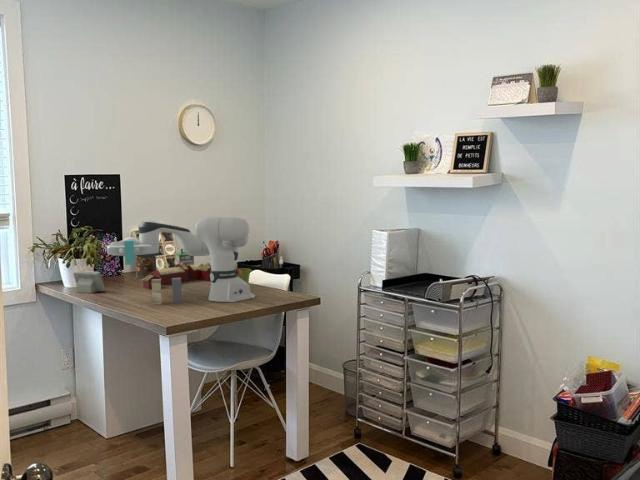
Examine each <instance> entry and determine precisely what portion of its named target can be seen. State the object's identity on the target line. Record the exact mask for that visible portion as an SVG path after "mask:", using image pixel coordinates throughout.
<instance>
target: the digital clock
mask: <svg viewBox="0 0 640 480" xmlns="http://www.w3.org/2000/svg"><path fill="white" fill-rule="evenodd" d="M72 275H73V278H74V280H75V284H76V293H83V294H94V293H97V292H104V291H106V288H105V287H106V286H105V284H104V281H103V278H102V274H101V273H100V271H93V270H92V271H90V270H89V271H87V270H73V272H72Z"/></svg>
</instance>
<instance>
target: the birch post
mask: <svg viewBox="0 0 640 480" xmlns="http://www.w3.org/2000/svg"><path fill="white" fill-rule="evenodd" d="M151 295H152V296H151V297H152V299H151V301H152V302H151V303H152V306H154V305H162V285H161V279H152V289H151Z"/></svg>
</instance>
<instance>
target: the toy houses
mask: <svg viewBox="0 0 640 480" xmlns="http://www.w3.org/2000/svg"><path fill="white" fill-rule="evenodd" d="M192 266H193V267H192ZM192 266H190V265H188V266H186V265H185V264H184V263H180V264H177V265H176V264H175V265H174V267H165V268H160V269H156V270H155V271H154V272H153V276H152V275H147V276H146V277H144V278H140V279H141V281H142V288H143V289H147V290H152V279H161V286H166V285H172V278H181V283H186V282H189V281H199V280H200V281H204V282H211V280H210V270H211V263H209V262H205V263H196V264H194V265H192Z"/></svg>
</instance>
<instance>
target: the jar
mask: <svg viewBox="0 0 640 480" xmlns="http://www.w3.org/2000/svg"><path fill="white" fill-rule="evenodd" d="M155 270H157V255H156V256H154V257H152V258H139V257H137V256H135V278H136V279H137V278H138V279H143V278H144V277H146V276H147V275H152V276H153V272H154V271H155Z"/></svg>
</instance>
